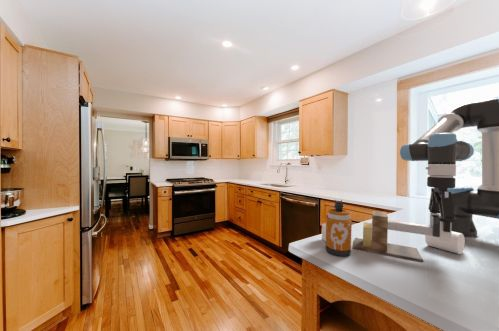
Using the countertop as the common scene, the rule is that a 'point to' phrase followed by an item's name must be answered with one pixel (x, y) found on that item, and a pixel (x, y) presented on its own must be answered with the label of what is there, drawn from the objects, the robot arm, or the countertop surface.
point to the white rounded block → (453, 246)
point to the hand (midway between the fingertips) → (439, 235)
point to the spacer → (367, 235)
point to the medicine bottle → (324, 231)
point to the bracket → (385, 240)
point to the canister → (338, 230)
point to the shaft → (418, 227)
